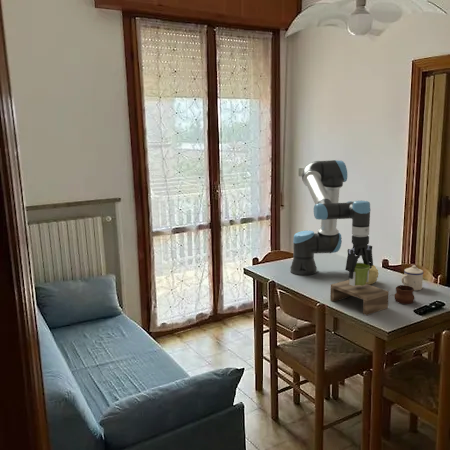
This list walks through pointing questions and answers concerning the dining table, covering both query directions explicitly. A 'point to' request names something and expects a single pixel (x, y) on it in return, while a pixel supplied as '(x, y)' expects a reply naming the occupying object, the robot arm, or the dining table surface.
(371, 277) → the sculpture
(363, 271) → the plant pot
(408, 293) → the ceramic pot
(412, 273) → the teacup with lid
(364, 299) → the walnut shelf
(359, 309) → the dining table surface
